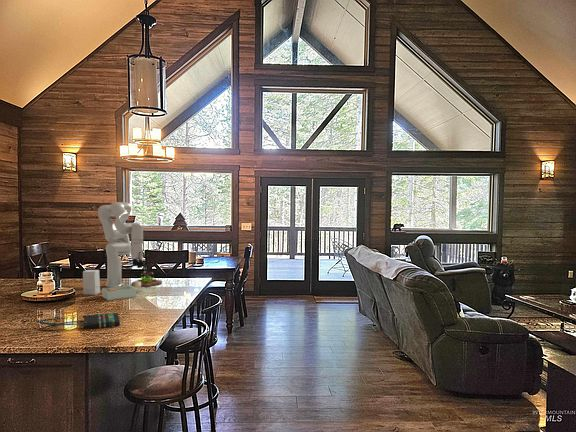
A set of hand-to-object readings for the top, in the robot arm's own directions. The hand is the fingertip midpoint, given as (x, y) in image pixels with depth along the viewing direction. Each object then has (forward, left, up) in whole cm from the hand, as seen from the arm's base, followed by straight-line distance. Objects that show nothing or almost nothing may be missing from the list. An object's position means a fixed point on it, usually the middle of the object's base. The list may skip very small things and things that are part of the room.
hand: (137, 266), depth 277 cm
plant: (-22, +14, -18) cm, 32 cm away
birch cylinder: (0, 0, -17) cm, 17 cm away
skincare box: (-12, -26, -18) cm, 34 cm away
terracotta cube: (+8, -18, -17) cm, 26 cm away
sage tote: (+8, -14, -17) cm, 24 cm away
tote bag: (+60, -47, -18) cm, 78 cm away
